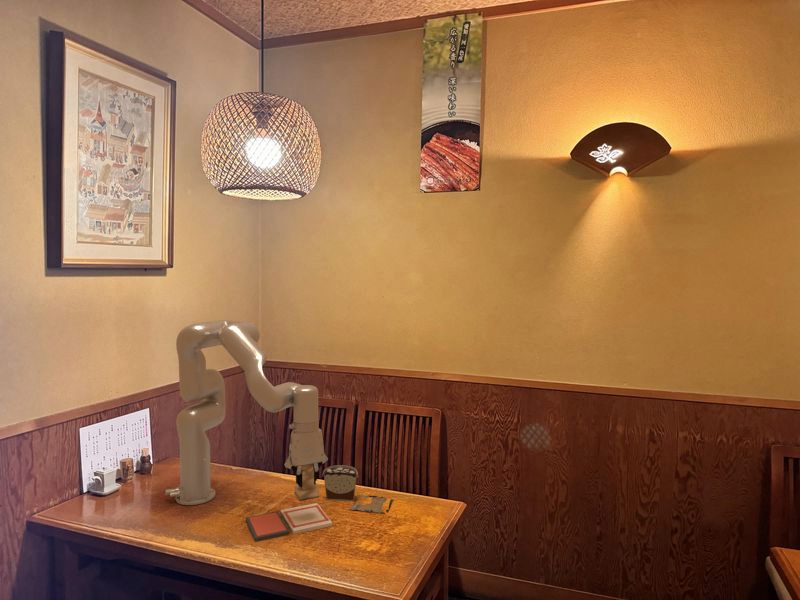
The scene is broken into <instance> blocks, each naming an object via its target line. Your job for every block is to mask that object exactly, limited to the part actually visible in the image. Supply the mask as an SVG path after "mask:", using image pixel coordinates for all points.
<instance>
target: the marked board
mask: <svg viewBox="0 0 800 600" xmlns="http://www.w3.org/2000/svg"><path fill="white" fill-rule="evenodd" d="M280 515H281V517H282V519H283V520H284V522H285V524H286V525H287V527H288V529H289V530H290V532H291V533H292V534H293V535H297V534H301V533H306V532H310V531H314V530H315V531H316V530H319V529H324V528H329V527H333V522H332V521H331V519H330V518H329V516H328V515H327V513H325V512H324V510H323V509H322V508H321V506H320V505H319V504H318V503H317V502H315V503H310V504H304V505H299V506H296V507H291V508H290V507H289V508H285V509H280Z"/></svg>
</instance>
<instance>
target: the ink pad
mask: <svg viewBox="0 0 800 600" xmlns="http://www.w3.org/2000/svg"><path fill="white" fill-rule="evenodd" d="M245 522H246V524H247V527H248V530H249V531H250V533H251V535H252V538H253V540H254V542H256V543H257V542H259V541H260V542H261V541H264V540H265V541H266V540H269V539H274V538H279V537H284V536H289V535H291V529H290V528H289V526H288V525H287V523H286V521H285V520H284V518H283V516H282V515H281V513H280V512H279V510H278V511H274V512H268V513H263V514H258V515H252V516H248V517H247V516H246V517H245Z"/></svg>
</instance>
